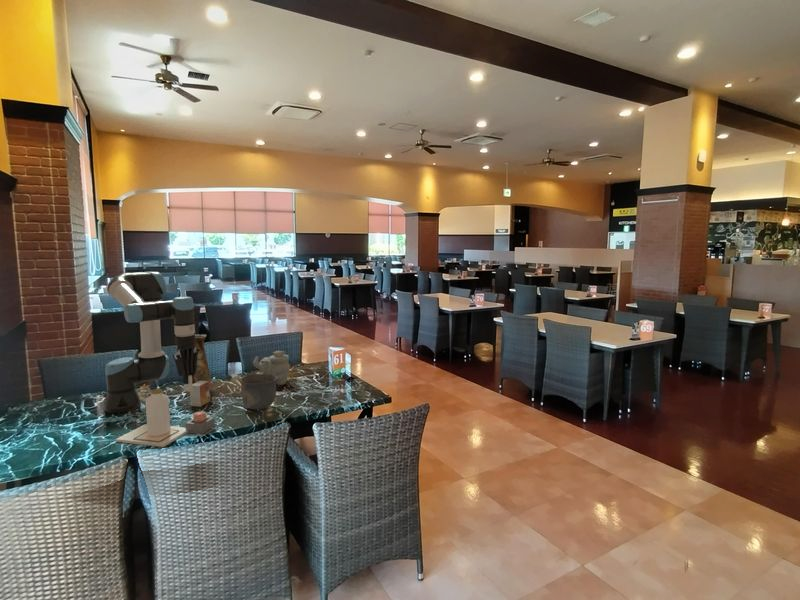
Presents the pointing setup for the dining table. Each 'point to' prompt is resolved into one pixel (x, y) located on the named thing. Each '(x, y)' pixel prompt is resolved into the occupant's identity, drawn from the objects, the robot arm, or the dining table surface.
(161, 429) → the potion bottle
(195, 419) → the button
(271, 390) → the cup
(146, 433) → the colouring board
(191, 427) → the button housing
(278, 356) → the teapot
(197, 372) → the vase
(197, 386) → the small box
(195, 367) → the robot arm
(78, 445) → the dining table surface
